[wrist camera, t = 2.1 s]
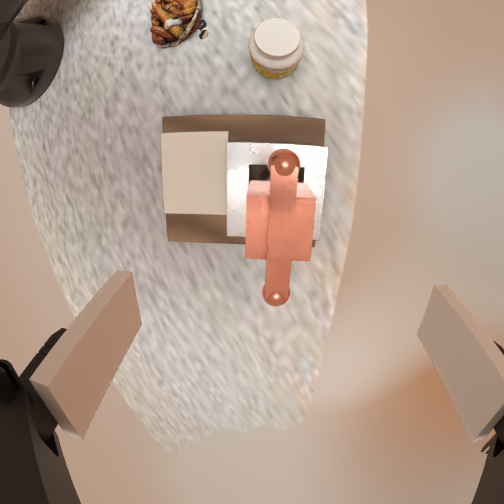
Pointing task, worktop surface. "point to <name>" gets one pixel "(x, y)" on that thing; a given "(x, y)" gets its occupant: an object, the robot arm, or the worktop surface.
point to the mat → (194, 172)
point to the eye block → (258, 154)
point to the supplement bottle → (276, 48)
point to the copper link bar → (279, 222)
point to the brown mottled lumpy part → (175, 21)
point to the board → (251, 128)
